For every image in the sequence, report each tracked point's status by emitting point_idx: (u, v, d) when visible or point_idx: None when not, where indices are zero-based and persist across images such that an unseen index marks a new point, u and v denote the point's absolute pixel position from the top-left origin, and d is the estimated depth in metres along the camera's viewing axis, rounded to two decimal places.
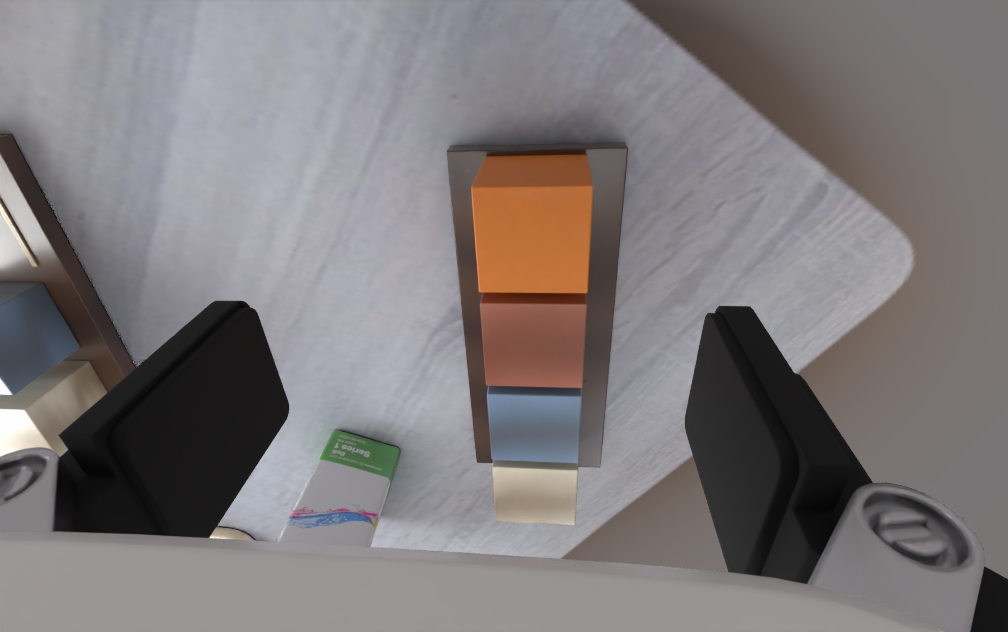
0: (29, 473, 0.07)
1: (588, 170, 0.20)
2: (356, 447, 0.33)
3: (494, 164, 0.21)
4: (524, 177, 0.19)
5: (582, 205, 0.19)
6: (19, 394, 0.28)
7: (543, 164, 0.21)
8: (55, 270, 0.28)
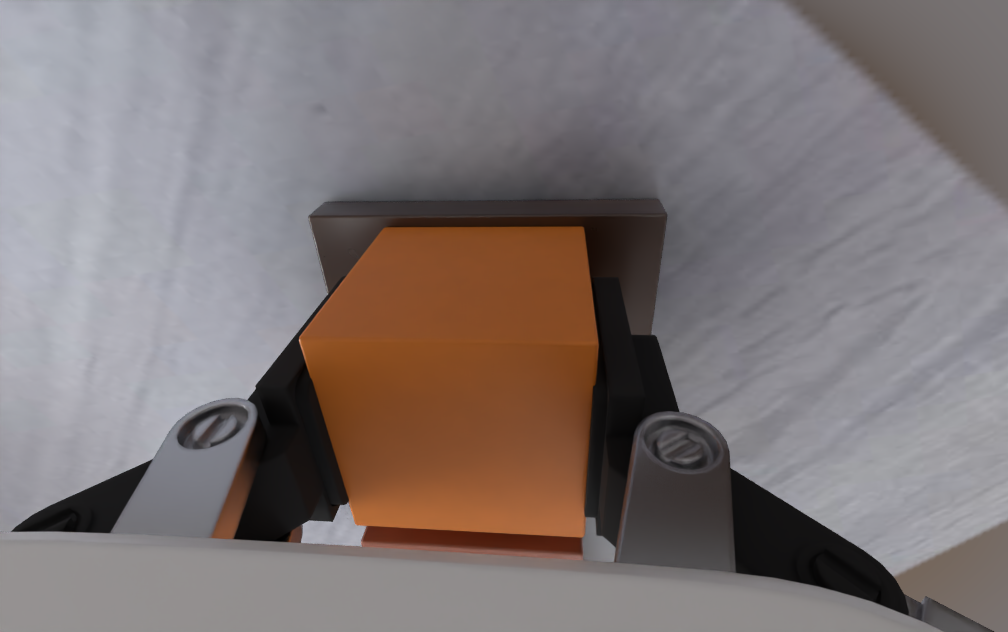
0: (234, 423, 0.07)
1: (586, 280, 0.09)
2: None
3: (390, 253, 0.10)
4: (437, 300, 0.08)
5: (571, 384, 0.08)
6: None
7: (491, 255, 0.10)
8: None
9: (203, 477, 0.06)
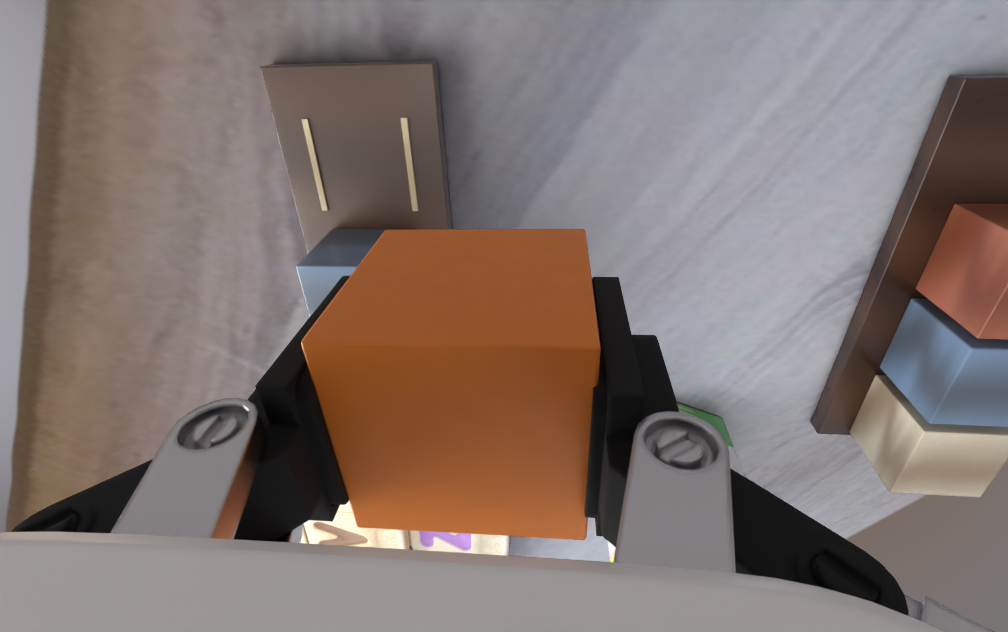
0: (234, 423, 0.07)
1: (588, 283, 0.09)
2: None
3: (392, 256, 0.10)
4: (439, 304, 0.08)
5: (573, 388, 0.08)
6: None
7: (492, 258, 0.10)
8: (435, 215, 0.26)
9: (203, 477, 0.06)
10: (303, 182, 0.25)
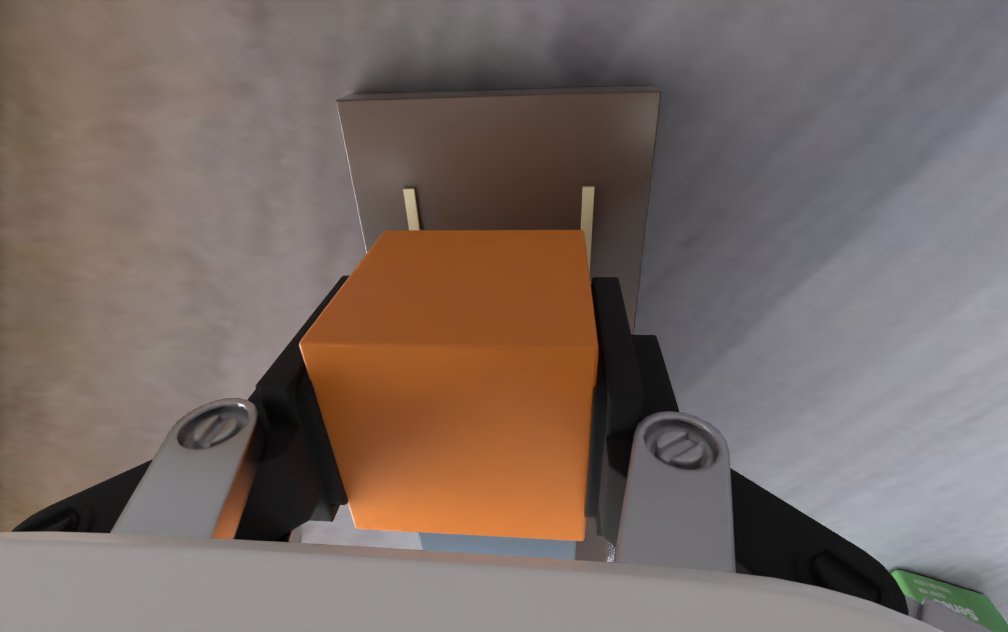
0: (234, 423, 0.07)
1: (586, 284, 0.09)
2: (950, 602, 0.21)
3: (390, 257, 0.10)
4: (437, 305, 0.08)
5: (571, 389, 0.08)
6: None
7: (491, 259, 0.10)
8: None
9: (203, 477, 0.06)
10: None
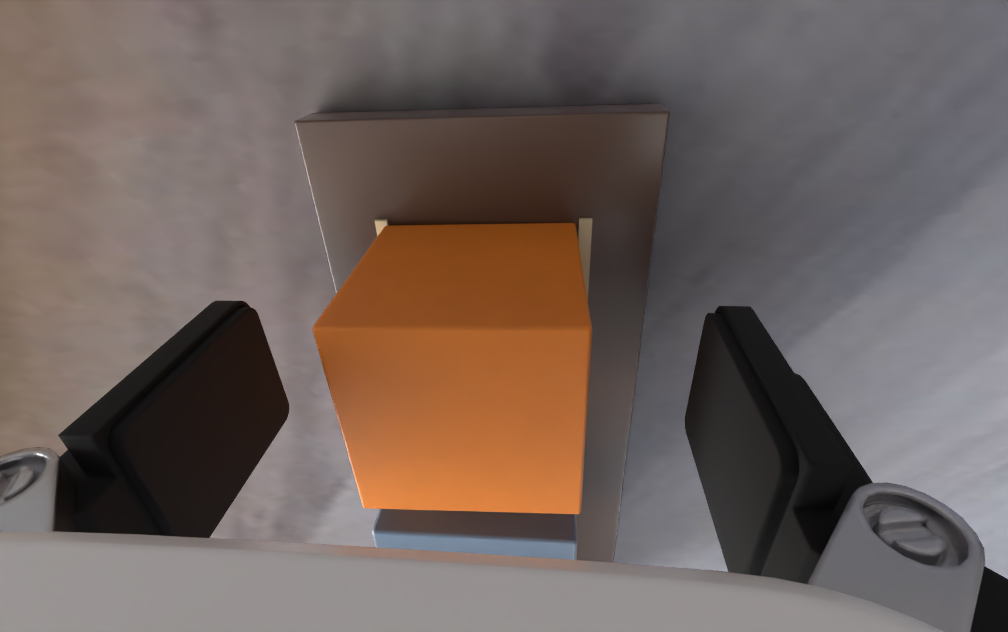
0: (29, 473, 0.07)
1: (579, 271, 0.09)
2: None
3: (393, 249, 0.11)
4: (441, 292, 0.09)
5: (567, 367, 0.08)
6: None
7: (488, 250, 0.10)
8: (614, 382, 0.14)
9: (12, 527, 0.06)
10: None
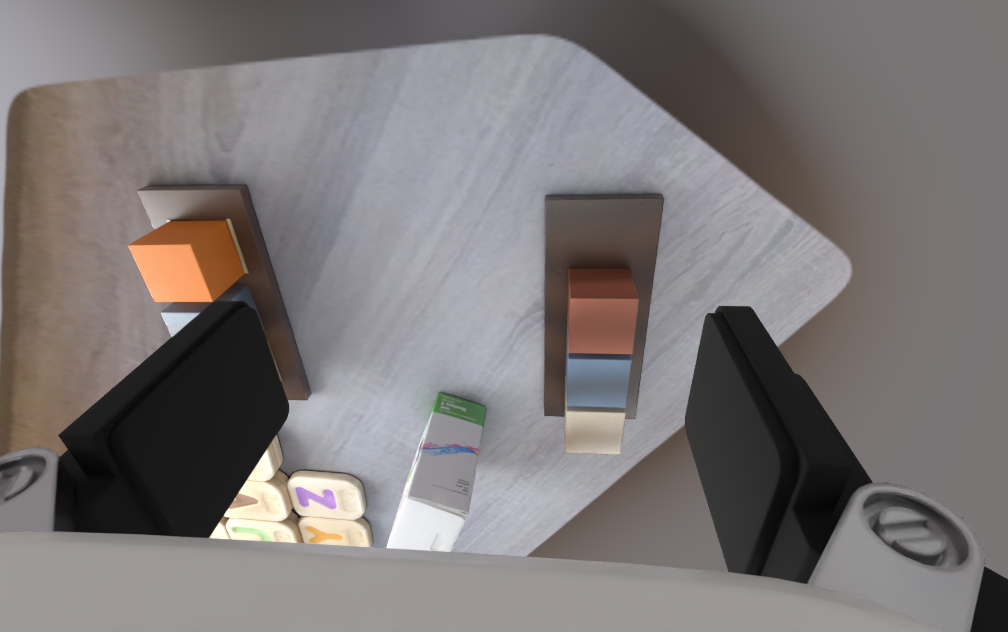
0: (29, 473, 0.07)
1: (205, 233, 0.35)
2: (456, 404, 0.45)
3: (164, 228, 0.37)
4: (165, 238, 0.35)
5: (189, 254, 0.34)
6: None
7: (189, 228, 0.36)
8: (260, 276, 0.40)
9: (12, 527, 0.06)
10: None
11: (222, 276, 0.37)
